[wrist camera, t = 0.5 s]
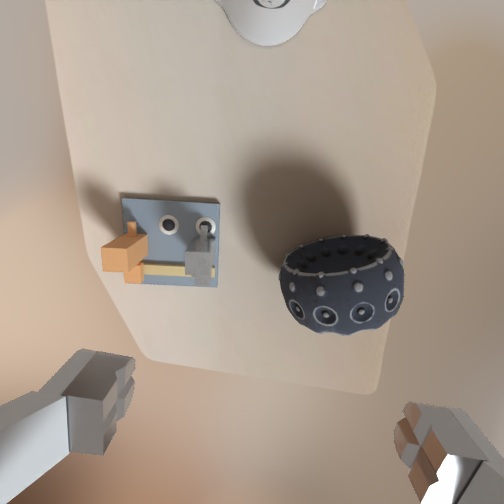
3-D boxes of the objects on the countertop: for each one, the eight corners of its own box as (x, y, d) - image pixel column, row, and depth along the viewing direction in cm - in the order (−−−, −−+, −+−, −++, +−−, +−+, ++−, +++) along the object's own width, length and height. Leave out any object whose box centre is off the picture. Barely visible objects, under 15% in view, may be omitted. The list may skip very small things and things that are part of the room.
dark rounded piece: (269, 248, 57) (283, 289, 38) (367, 224, 56) (432, 254, 37) (281, 295, 60) (298, 355, 41) (373, 273, 59) (436, 324, 40)
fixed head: (195, 222, 54) (184, 234, 44) (216, 223, 54) (210, 236, 44) (194, 278, 57) (185, 301, 48) (214, 279, 57) (208, 302, 48)
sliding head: (125, 219, 53) (99, 230, 43) (146, 220, 53) (125, 232, 44) (129, 276, 56) (105, 298, 47) (149, 277, 56) (130, 299, 47)
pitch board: (124, 197, 53) (119, 198, 51) (220, 203, 54) (219, 204, 52) (129, 280, 58) (125, 285, 56) (217, 285, 59) (216, 289, 57)
